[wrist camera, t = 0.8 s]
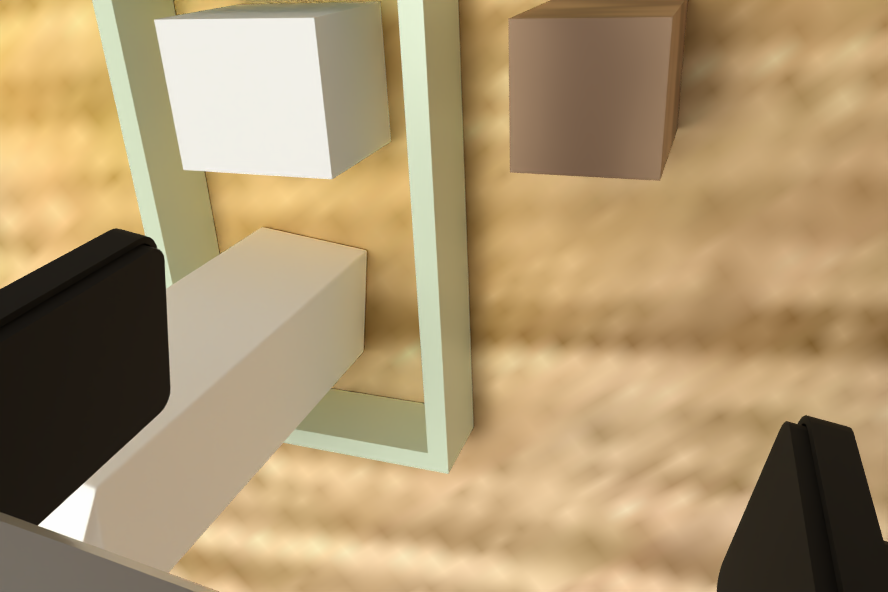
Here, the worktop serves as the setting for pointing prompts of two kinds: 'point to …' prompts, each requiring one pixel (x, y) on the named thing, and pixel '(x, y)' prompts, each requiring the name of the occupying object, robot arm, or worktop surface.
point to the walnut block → (595, 87)
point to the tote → (433, 217)
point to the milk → (226, 391)
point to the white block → (277, 87)
